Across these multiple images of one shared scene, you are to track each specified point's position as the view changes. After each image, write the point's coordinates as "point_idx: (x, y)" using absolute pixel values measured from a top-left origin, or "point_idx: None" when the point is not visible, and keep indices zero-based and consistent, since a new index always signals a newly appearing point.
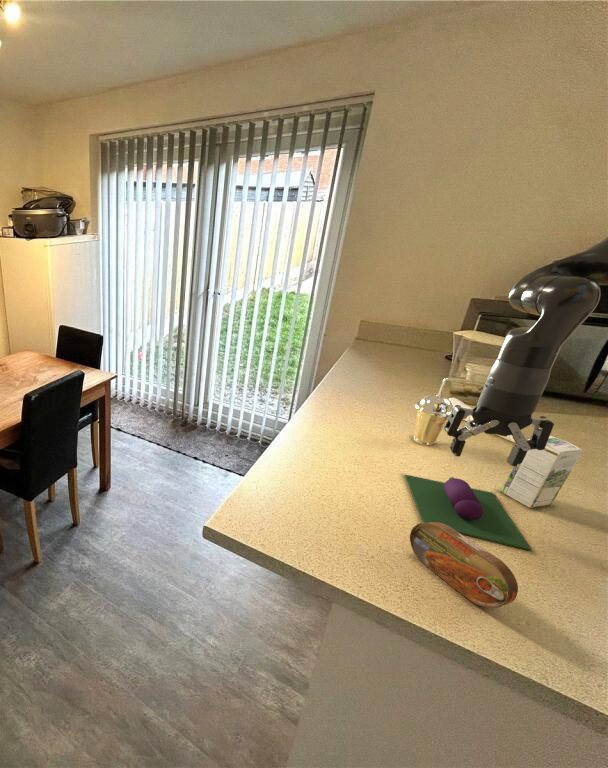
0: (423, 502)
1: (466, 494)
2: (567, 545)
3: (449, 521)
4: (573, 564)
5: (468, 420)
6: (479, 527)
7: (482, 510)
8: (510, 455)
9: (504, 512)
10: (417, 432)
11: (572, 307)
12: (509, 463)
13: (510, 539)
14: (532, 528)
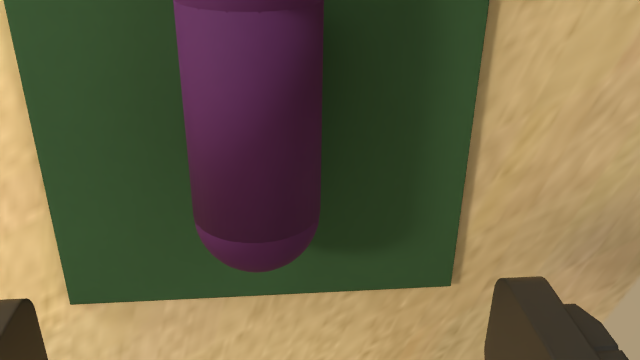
0: (73, 135)
1: (242, 190)
2: (624, 178)
3: (180, 244)
4: (564, 288)
5: None
6: None
7: (305, 248)
8: (528, 348)
9: (477, 38)
10: None
11: None
12: (491, 327)
13: (401, 257)
14: (549, 110)
